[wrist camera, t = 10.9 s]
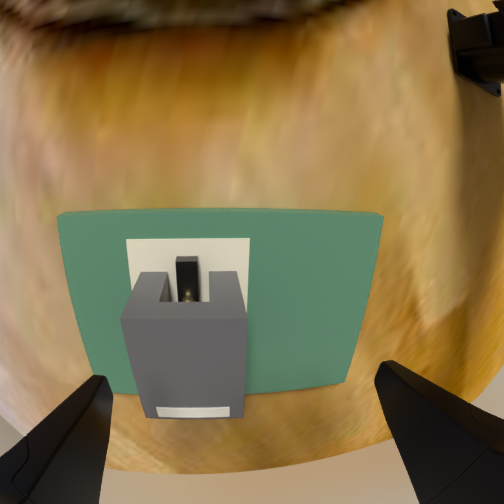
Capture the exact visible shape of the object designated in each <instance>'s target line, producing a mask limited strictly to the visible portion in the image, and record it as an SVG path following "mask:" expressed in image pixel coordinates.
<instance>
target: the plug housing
mask: <svg viewBox="0 0 504 504" xmlns="http://www.w3.org/2000/svg"><path fill="white" fill-rule="evenodd" d="M120 322H121V327H122V331H123V336H124V340H125V345H126V349H127V353H128V357H129V361H130V365H131V369H132V372H133V376H134V380H135V383H136V387H137V390H138V393H139V397H140V400H141V403H142V406H143V410H144V413H145V416H146V418H157V419H227V418H244V394H245V371H246V347H247V323H248V317H247V313H246V309H245V305H244V300H243V296H242V292H241V288H240V283H239V279H238V275H237V271H209V302H170V296H169V285H168V272H141V273H140V275H139V277H138V279H137V281H136V283H135V285H134V288H133V290H132V292H131V294H130V296H129V299H128V301H127V303H126V305H125V308H124V310H123V312H122V315H121V317H120Z"/></svg>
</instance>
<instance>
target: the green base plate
mask: <svg viewBox="0 0 504 504" xmlns="http://www.w3.org/2000/svg"><path fill="white" fill-rule="evenodd" d="M383 218H384V216H382V215H379V214H377V213H370V212H352V211H330V210H304V209H264V208H167V209H128V210H102V211H81V212H64V213H62V214H60V215H58V216H57V223H58V231H59V238H60V245H61V251H62V257H63V262H64V268H65V273H66V278H67V283H68V287H69V292H70V296H71V300H72V304H73V308H74V312H75V316H76V320H77V324H78V327H79V331H80V334H81V337H82V341H83V344H84V347H85V350H86V353H87V356H88V359H89V362H90V365H91V368H92V371H93V374H94V375H95V374H96V375H104V376H106V377H107V379H108V382H109V385H110V387H111V390H112V392H113V393H124V394H139V393H138V390H137V387H136V383H135V380H134V376H133V372H132V369H131V365H130V361H129V357H128V353H127V349H126V345H125V340H124V336H123V331H122V327H121V322H120V317H121V315H122V312H123V310H124V308H125V305H126V303H127V301H128V299H129V296H130V294H131V292H132V290H133V288H134V285H135V283H136V281H137V279H138V277H139V275H140V273H141V272H168V285H169V296H170V302H178V294H177V280H176V264H175V261H176V257H177V256H198V279H199V302H209V271H237V275H238V279H239V283H240V288H241V292H242V296H243V300H244V305H245V309H246V313H247V317H248V323H247V347H246V371H245V394H257V393H269V392H279V391H288V390H297V389H305V388H312V387H319V386H325V385H332V384H338V383H343V382H345V379H346V376H347V373H348V370H349V367H350V364H351V360H352V357H353V354H354V350H355V347H356V343H357V340H358V336H359V333H360V329H361V325H362V321H363V317H364V313H365V309H366V305H367V301H368V297H369V292H370V288H371V283H372V279H373V274H374V269H375V264H376V259H377V254H378V248H379V243H380V237H381V231H382V224H383Z"/></svg>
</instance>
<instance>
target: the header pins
mask: <svg viewBox="0 0 504 504" xmlns="http://www.w3.org/2000/svg"><path fill="white" fill-rule="evenodd" d="M175 264H176V280H177V294H178V302H199V279H198V256H177V257H176V261H175Z"/></svg>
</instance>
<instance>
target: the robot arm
mask: <svg viewBox="0 0 504 504" xmlns="http://www.w3.org/2000/svg"><path fill="white" fill-rule="evenodd" d="M492 2H493V4H494V5H495V7H496V8H498V10H499V11H497V12H493V13H489V14H485V13H482V14H478V15H474V16H471V17H465V16H464V15H462V14H461V13H459V12H458V11H456V10H454V9H449V10H448V18H449V24H450V31H451V39H452V47H453V58H454V69H455V72H456V73H457V74H458V75H459V76H461V77H463V78H465V79H466V80H468V81H470V82H472V83H474V84H476V85H477V86H479V87H481V88H483V89H484V90H486V91H488V92H489V93H491V94H492V95H494V96H496V97H500V96H501V83H504V0H494V1H492ZM374 383H375V387H376V390H377V394H378V397H379V400H380V403H381V406H382V410H383V413H384V416H385V419H386V421H387V424H388V426H389V429H390V431H391V433H392V436H393V438H394V440H395V443H396V445H397V448H398V450H399V452H400V455H401V457H402V460H403V462H404V465H405V467H406V470H407V472H408V475H409V477H410V480H411V483H412V485H413V488H414V490H415V493H416V496H417V498H418V501H419V503H420V504H504V419H501V418H499V417H497V416H494V415H492V414H490V413H488V412H485V411H483V410H481V409H480V408H478V407H476V406H474V405H472V404H470V403H468V402H467V401H465V400H463V399H461V398H459V397H457V396H456V395H454V394H452V393H450V392H448V391H447V390H445V389H443V388H441V387H439V386H438V385H436V384H434V383H432V382H430V381H429V380H427V379H425V378H423V377H422V376H420V375H418V374H416V373H415V372H413V371H411V370H409V369H407V368H406V367H404V366H402V365H400V364H399V363H397V362H395V361H393V360H388V361H383V362H382V363H381V364H380V366H379V368H378V371H377V374H376V376H375V380H374ZM112 405H113V393H112V390H111V387H110V385H109V382H108V379H107V377H106V376H104V375H96V374H95V375H92V376H91V377H90V378H89V379H88V380H87V381H85V382H84V383H83V384H82V385H81V386H80V387H79V388H78V389H77V390H75V391H74V392H73V393H72V394H71V395H70V396H69V397H68V398H67V399H65V400H64V401H63V402H62V403H61V404H60V405H59V406H58V407H57V408H55V409H54V410H53V411H52V412H51V413H50V414H49V415H48V416H47V417H45V418H44V419H43V420H42V421H41V422H40V423H39V424H38V425H37V426H36V427H34V428H33V429H32V430H31V431H30V432H29V433H28V434H27V436H24V437H23V438H22V439H21V440H20V441H19V442H18V443H17V444H16V445H14V447H12V448H11V449H10V450H9V451H7V452H6V453H5V454H4V455H2V456H1V457H0V504H99V497H100V490H101V484H102V477H103V471H104V465H105V460H106V454H107V449H108V443H109V437H110V426H111V414H112Z"/></svg>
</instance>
